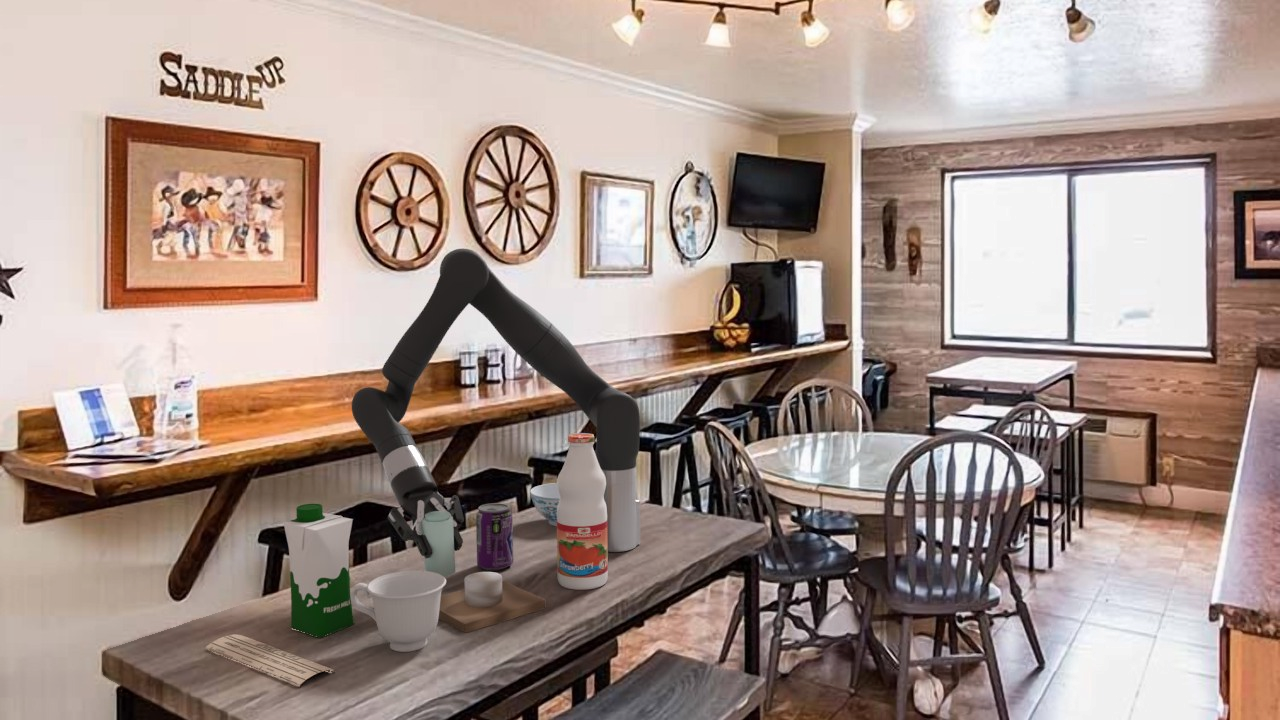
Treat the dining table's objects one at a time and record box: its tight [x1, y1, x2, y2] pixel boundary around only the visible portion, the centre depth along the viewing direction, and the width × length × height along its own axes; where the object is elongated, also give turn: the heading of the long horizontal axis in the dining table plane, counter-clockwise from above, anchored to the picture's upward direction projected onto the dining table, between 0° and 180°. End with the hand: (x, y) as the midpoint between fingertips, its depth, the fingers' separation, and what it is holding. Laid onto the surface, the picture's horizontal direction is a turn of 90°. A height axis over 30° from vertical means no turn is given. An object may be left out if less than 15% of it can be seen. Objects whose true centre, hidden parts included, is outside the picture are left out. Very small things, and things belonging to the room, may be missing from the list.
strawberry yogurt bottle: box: [556, 432, 609, 591], centre depth 170 cm, size 9×9×28 cm
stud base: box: [438, 571, 546, 634], centre depth 158 cm, size 16×14×6 cm
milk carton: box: [283, 503, 355, 638], centre depth 150 cm, size 9×9×20 cm
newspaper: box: [205, 633, 336, 685], centre depth 138 cm, size 24×7×2 cm, turn 56°
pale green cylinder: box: [422, 510, 456, 578], centre depth 165 cm, size 5×5×11 cm
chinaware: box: [529, 482, 560, 527], centre depth 212 cm, size 15×15×8 cm
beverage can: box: [475, 502, 514, 571], centre depth 181 cm, size 7×7×12 cm
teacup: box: [350, 570, 447, 653], centre depth 143 cm, size 12×15×10 cm
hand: (444, 551), depth 164 cm, fingers closed on pale green cylinder, 5 cm apart
